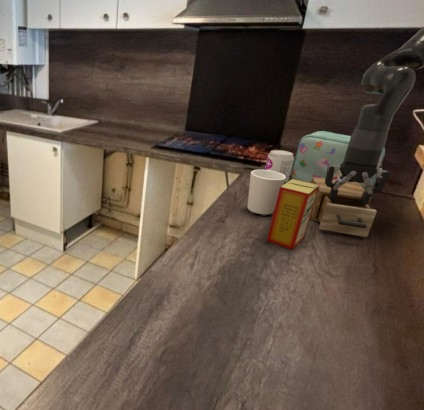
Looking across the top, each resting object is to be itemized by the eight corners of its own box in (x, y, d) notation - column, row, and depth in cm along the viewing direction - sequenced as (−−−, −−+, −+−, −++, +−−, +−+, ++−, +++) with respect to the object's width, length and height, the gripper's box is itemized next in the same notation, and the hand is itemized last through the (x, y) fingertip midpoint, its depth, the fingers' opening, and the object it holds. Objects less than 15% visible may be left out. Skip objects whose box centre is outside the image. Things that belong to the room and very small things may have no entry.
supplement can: (261, 194, 129) (270, 154, 123) (259, 187, 136) (267, 148, 130) (286, 198, 126) (296, 156, 120) (282, 190, 133) (292, 151, 127)
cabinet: (360, 228, 105) (371, 198, 101) (311, 220, 110) (320, 191, 106) (348, 209, 118) (357, 182, 114) (304, 203, 122) (312, 176, 118)
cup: (247, 203, 121) (254, 167, 116) (278, 210, 116) (288, 173, 111) (239, 213, 114) (247, 175, 109) (273, 221, 109) (283, 182, 103)
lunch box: (376, 198, 127) (398, 139, 118) (363, 204, 122) (386, 142, 113) (299, 177, 147) (313, 125, 139) (286, 182, 142) (300, 128, 133)
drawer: (372, 245, 94) (383, 218, 91) (322, 236, 98) (331, 210, 95) (354, 217, 110) (362, 194, 107) (311, 211, 114) (318, 188, 111)
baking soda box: (292, 249, 93) (308, 192, 87) (266, 240, 97) (280, 185, 91) (304, 237, 99) (320, 183, 93) (279, 229, 104) (293, 177, 97)
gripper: (393, 145, 96) (373, 202, 102) (331, 140, 101) (315, 195, 107) (404, 151, 89) (381, 212, 96) (337, 146, 94) (320, 204, 101)
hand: (346, 203), depth 101 cm, fingers open, 6 cm apart
